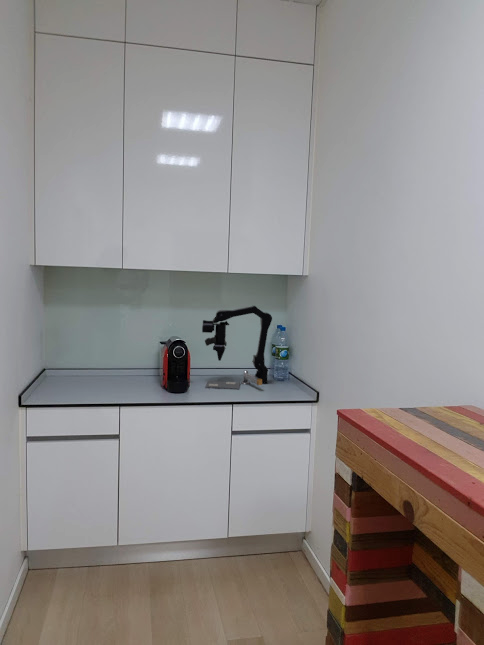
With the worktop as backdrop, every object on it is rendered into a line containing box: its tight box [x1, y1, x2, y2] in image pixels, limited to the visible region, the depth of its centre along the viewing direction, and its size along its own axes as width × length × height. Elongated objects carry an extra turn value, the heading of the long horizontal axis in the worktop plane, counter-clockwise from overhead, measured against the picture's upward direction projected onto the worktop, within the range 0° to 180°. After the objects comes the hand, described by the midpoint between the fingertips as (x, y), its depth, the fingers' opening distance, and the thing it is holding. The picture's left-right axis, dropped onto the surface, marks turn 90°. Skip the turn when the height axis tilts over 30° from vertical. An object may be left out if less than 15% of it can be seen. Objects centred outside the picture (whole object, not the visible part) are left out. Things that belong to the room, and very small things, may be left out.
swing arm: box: [242, 370, 263, 386], centre depth 272 cm, size 19×2×6 cm, turn 26°
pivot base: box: [240, 381, 251, 385], centre depth 279 cm, size 5×5×1 cm
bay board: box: [204, 380, 241, 390], centre depth 272 cm, size 18×14×1 cm
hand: (219, 360), depth 279 cm, fingers closed
